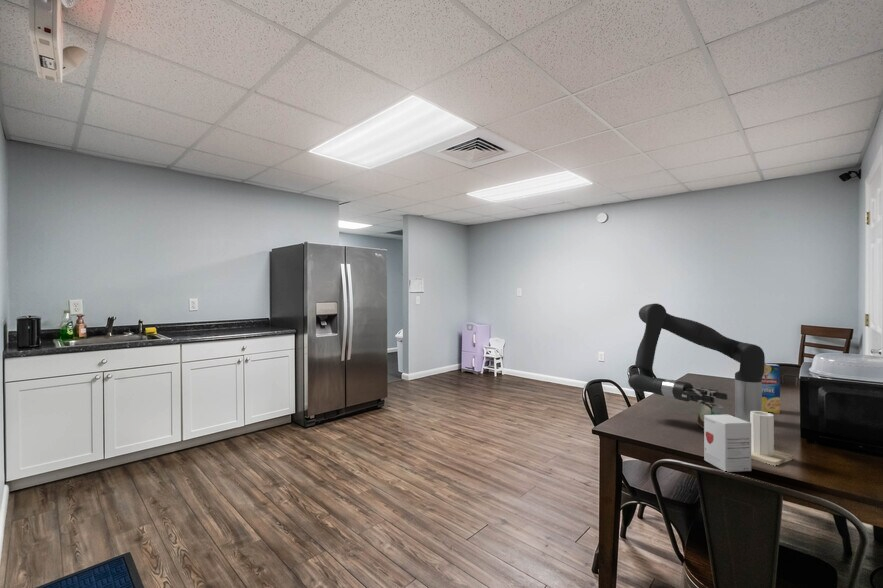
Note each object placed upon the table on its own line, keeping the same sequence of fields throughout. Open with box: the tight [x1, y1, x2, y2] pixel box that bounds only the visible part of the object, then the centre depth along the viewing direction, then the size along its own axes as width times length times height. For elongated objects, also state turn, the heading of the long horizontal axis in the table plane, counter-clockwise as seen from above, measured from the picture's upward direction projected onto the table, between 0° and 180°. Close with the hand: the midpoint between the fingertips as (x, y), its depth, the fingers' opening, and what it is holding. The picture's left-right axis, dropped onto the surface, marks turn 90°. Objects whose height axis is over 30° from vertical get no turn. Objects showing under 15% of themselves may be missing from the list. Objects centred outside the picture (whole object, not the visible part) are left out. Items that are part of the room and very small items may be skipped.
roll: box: [750, 411, 775, 456], centre depth 131 cm, size 6×6×13 cm
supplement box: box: [703, 414, 752, 473], centre depth 124 cm, size 9×9×15 cm
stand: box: [751, 449, 794, 467], centre depth 131 cm, size 12×12×10 cm
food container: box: [696, 401, 725, 429], centre depth 157 cm, size 12×6×10 cm, turn 166°
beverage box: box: [762, 362, 781, 414], centre depth 184 cm, size 7×11×22 cm, turn 71°
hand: (720, 398), depth 145 cm, fingers open, 8 cm apart
